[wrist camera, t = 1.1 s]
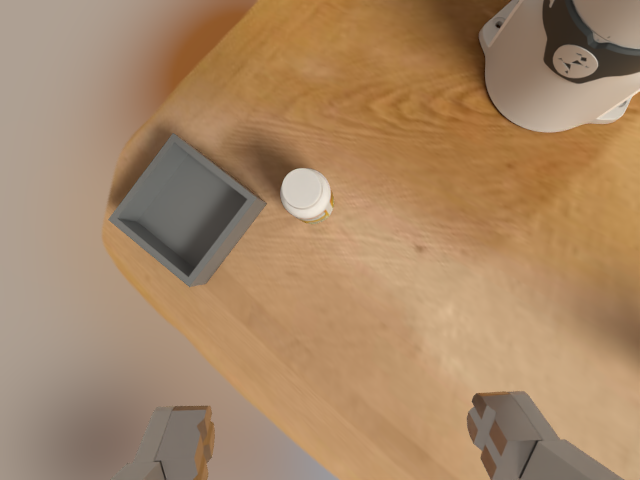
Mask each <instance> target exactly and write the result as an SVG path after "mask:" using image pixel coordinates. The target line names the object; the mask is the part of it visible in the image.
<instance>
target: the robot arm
mask: <svg viewBox="0 0 640 480" xmlns="http://www.w3.org/2000/svg"><path fill="white" fill-rule="evenodd" d="M496 25H499V26H500V28H497V27H496ZM479 41H480V44H481V47H482V49H483V52H484V54H485V62H486V63H485V81H486V86H487V90H488V93H489V95H490V98H491V100H492V101H493V103H494V105H495V106H496V107H497V109H498V110H499V111H500V112H501V113H502V114H503V115H504V116H505V117H506V118H507V119H509V120H510V121H512V122H513V123H515V124H517V125H519V126H521V127H523V128H526V129H529V130H533V131H538V132H559V131H564V130H568V129H571V128H574V127H577V126H580V125H583V124H587V123H593V124H608V123H612V122H614V121H616V120H617V119H619V118H620V117H621V116H622V115H623V114H624V112H625V110H626V108H627V106H628V104H629V102H630V100H631V98H632V96H633V95H635V94H636V93H638V92H639V91H640V0H512V1H511V2H509V3H508V4H507V5H506V6H505V7H504V8H503V9H502V10H500V11H499V12H498V13H497V14H496V15H495V16H494V17H493V18H492V19H490V20H489V21H488V22H487V23H486V24H485V25H484V26H483V28H482V29H481V30H480V32H479ZM472 403H473V405H474V407H473V408H472V409H471V410H470V411H469V412H468V416H467V427H468V431H469V434H470V437H471V439H472V441H473V444H475V445H476V446H477V447H478V448H479V449H481V450H482V453H481V460H482V462H483V464H484V467H485V469H486V471H487V473H488V475H489V477H490V479H491V480H624V479H622V478H621V477H619V476H618V475H616V474H615V473H614V472H612V471H611V470H609V469H608V468H606V467H605V466H603V465H602V464H600V463H599V462H597V461H596V460H594V459H593V458H592V457H590V456H589V455H587V454H586V453H584V452H583V451H581V450H580V449H578V448H577V447H575V446H574V445H573V444H571V443H570V442H568V441H567V440H565V439H564V440H560V438H559V437H558V436H557V434H556V433H555V431H554V430H553V429H552V427H551V426H550V424H549V423H548V422H547V420H546V419H545V417H544V416H543V415H542V413H541V412H540V411H539V409H538V408H537V406H536V405H535V404H534V402H533V401H532V399H531V398H530V397H529V395H528V394H527V393H525V392H524V391H516V392H490V393H476V394H475V395H474V396H473V399H472ZM211 415H212V411H211V407H210V406H169V407H157V408H156V409H155V411H154V412H153V414H152V417H151V419H150V422H149V424H148V427H147V429H146V432H145V434H144V437H143V439H142V442H141V444H140V446H139V449H138V452H137V454H136V456H135V459H134V462H133V463H127V464H126V465H125V466H124V467H123V468H122V469H121V470H120V471H119V472H118V473H117V474H116V475H115V476H114V477H113V478H112V479H111V480H207V478H208V469H207V463H208V462H209V460H210V459H211V458H212V453H213V448H214V439H215V434H214V433H215V430H214V424H213V423H212V422H211V421H210V420H211Z"/></svg>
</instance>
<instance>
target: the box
mask: <svg viewBox="0 0 640 480" xmlns="http://www.w3.org/2000/svg"><path fill="white" fill-rule="evenodd" d="M266 204H267V203H265V202H264V201H263V200H261V199H260V198H259V197H258V196H256V195H255V194H254V193H252V192H251V191H250V190H248V189H247V188H246V187H245V186H243V185H242V184H241V183H239V182H238V181H237V180H235V179H234V178H233V177H232V176H230V175H229V174H228V173H226V172H225V171H224V170H223V169H221V168H220V167H219V166H217V165H216V164H215V163H213V162H212V161H211V160H210V159H208V158H207V157H206V156H204V155H203V154H202V153H201V152H199V151H198V150H197V149H195V148H194V147H193V146H191V145H190V144H189V143H187V142H186V141H184V140H183V139H181V138H180V137H178V136H177V135H175V134H174V133H173V134H172V135H171V137H170V138H169V139H168V141H167V142H166V143H165V145H164V146H163V147H162V149H161V150H160V151H159V153H158V154H157V155H156V157H155V158H154V159H153V161H152V162H151V163H150V165H149V166H148V167H147V169H146V170H145V171H144V173H143V174H142V175H141V177H140V178H139V179H138V181H137V182H136V183H135V185H134V186H133V187H132V189H131V190H130V191H129V193H128V194H127V195H126V197H125V198H124V199H123V201H122V202H121V203H120V205H119V206H118V207H117V209H116V210H115V211H114V213H113V214H112V215H111V217H110V218H109V219H108V220H109V221H110V222H112V223H113V224H114V225H115V226H116V227H118V228H119V229H120V230H121V231H122V232H124V233H125V234H126V235H127V236H129V237H130V238H131V239H132V240H133V241H135V242H136V243H137V244H138V245H139V246H141V247H142V248H143V249H144V250H145V251H147V252H148V253H149V254H150V255H151V256H153V257H154V258H155V259H156V260H157V261H159V262H160V263H161V264H162V265H164V266H165V267H166V268H167V269H168V270H170V271H171V272H172V273H173V274H174V275H176V276H177V277H178V278H179V279H180V280H182V281H183V282H184V283H185V284H186V285H188V286H189V287H192V286H197V285H203V284H206V283H207V282H208V280H209V279H210V278H211V277H212V275H213V274H214V273H215V271H216V270H217V269H218V267H219V266H220V265H221V263H222V262H223V261H224V259H225V258H226V257H227V255H228V254H229V253H230V252H231V250H232V249H233V248H234V246H235V245H236V244H237V242H238V241H239V240H240V238H241V237H242V236H243V234H244V233H245V232H246V230H247V229H248V228H249V227H250V225H251V224H252V223H253V221H254V220H255V219H256V217H257V216H258V215H259V213H260V212H261V211H262V209H263V208H264V207H265V206H266Z"/></svg>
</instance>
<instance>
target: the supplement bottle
mask: <svg viewBox="0 0 640 480" xmlns="http://www.w3.org/2000/svg"><path fill="white" fill-rule="evenodd" d="M280 196H281V201H282V204H283V206H284V207H285V209H286V210H287V211H288V212H289V213H290V214H291V215H293V216H295V217H296V218H298V219H299V220H301V221H303V222H305V223H309V224H316V223H320V222H322V221H324V220H325V219H327V218H328V217H329V215H330V214H331V212H332V210H333V207H334V197H333V193H332V191H331V188H330V185H329V183H328V181H327V179H326V178H325V177H324V175H322V174H321V173H320V172H318V171H316V170H314V169H310V168H298V169H295V170H293V171H291V172H289V173H288V174H287V175H286V177H285V178H284V180H283V183H282V186H281V191H280Z"/></svg>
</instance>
